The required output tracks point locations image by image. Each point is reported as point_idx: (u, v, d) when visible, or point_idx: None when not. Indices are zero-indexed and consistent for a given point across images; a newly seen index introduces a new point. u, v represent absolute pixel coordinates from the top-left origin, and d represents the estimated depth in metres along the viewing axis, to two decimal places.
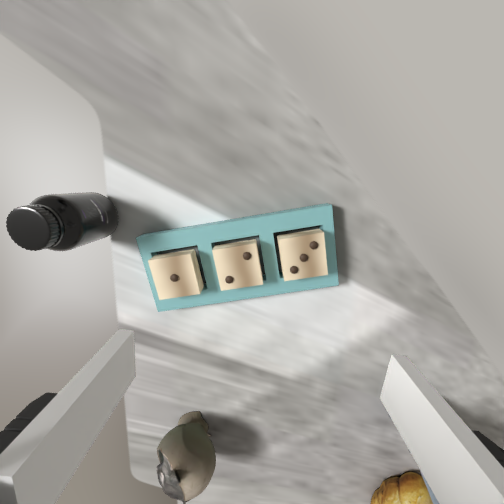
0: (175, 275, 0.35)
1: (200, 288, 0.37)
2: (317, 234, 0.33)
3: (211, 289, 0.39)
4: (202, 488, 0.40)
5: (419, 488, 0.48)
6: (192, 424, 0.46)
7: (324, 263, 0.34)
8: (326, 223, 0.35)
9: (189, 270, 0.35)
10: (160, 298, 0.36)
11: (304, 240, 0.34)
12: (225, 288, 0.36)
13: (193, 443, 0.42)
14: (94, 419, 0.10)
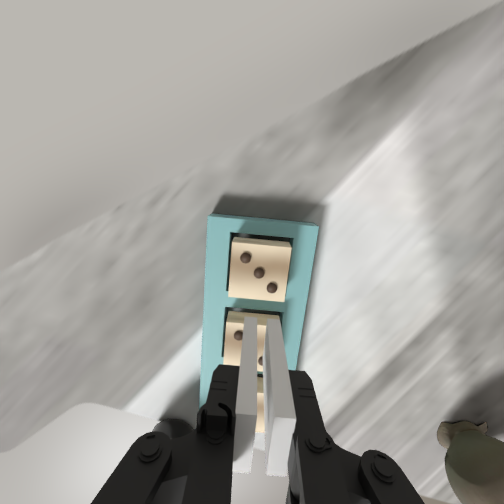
0: None
1: None
2: (233, 250, 0.26)
3: None
4: None
5: None
6: (452, 444, 0.34)
7: (274, 249, 0.26)
8: (229, 227, 0.28)
9: None
10: (264, 431, 0.32)
11: (236, 267, 0.26)
12: None
13: (476, 468, 0.31)
14: None
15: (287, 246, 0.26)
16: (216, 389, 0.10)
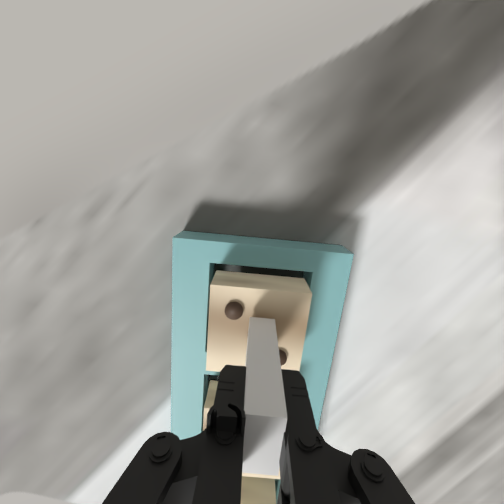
0: None
1: (269, 495, 0.20)
2: (212, 298, 0.15)
3: None
4: None
5: None
6: None
7: (282, 296, 0.15)
8: (208, 255, 0.17)
9: None
10: None
11: (219, 325, 0.16)
12: (279, 471, 0.19)
13: None
14: None
15: (304, 290, 0.15)
16: (223, 390, 0.10)
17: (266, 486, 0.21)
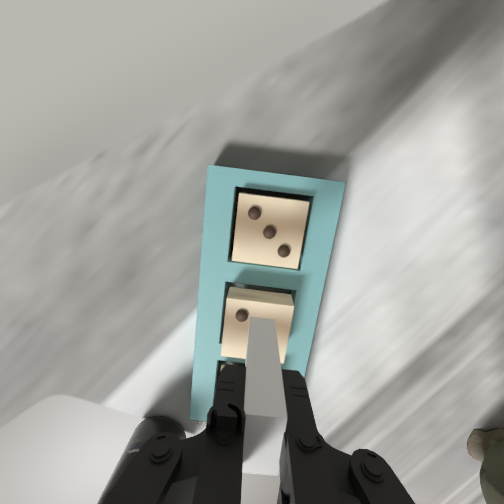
0: None
1: None
2: (240, 204, 0.22)
3: (285, 363, 0.27)
4: None
5: None
6: (489, 456, 0.29)
7: (288, 203, 0.22)
8: (234, 179, 0.22)
9: None
10: None
11: (243, 224, 0.22)
12: (282, 356, 0.24)
13: None
14: None
15: (304, 201, 0.22)
16: (223, 390, 0.10)
17: None
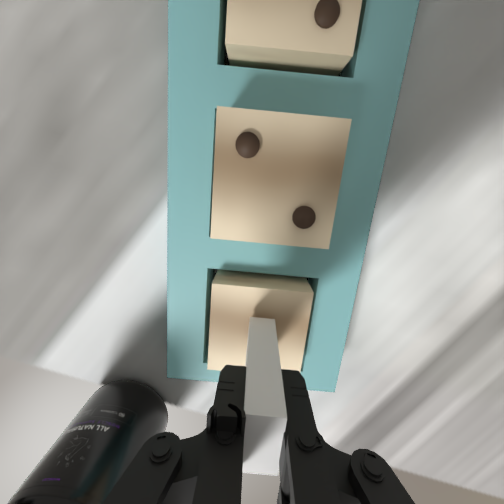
0: None
1: (302, 287, 0.16)
2: None
3: (323, 270, 0.16)
4: None
5: None
6: None
7: None
8: None
9: (249, 297, 0.15)
10: None
11: None
12: (326, 235, 0.13)
13: None
14: None
15: None
16: (224, 390, 0.10)
17: (297, 282, 0.16)
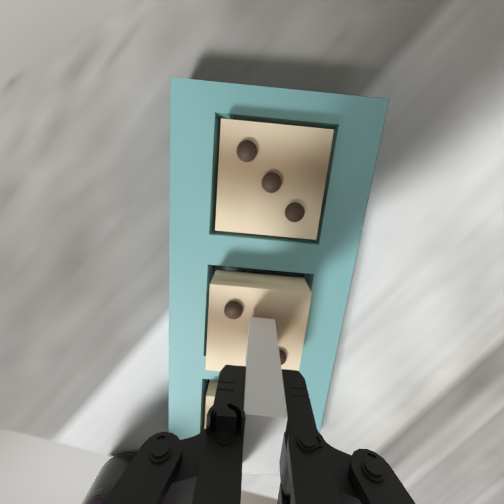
0: None
1: None
2: (223, 137, 0.14)
3: None
4: None
5: None
6: None
7: (301, 132, 0.14)
8: (213, 101, 0.14)
9: None
10: None
11: (230, 171, 0.14)
12: (295, 368, 0.16)
13: None
14: None
15: None
16: (223, 390, 0.10)
17: None
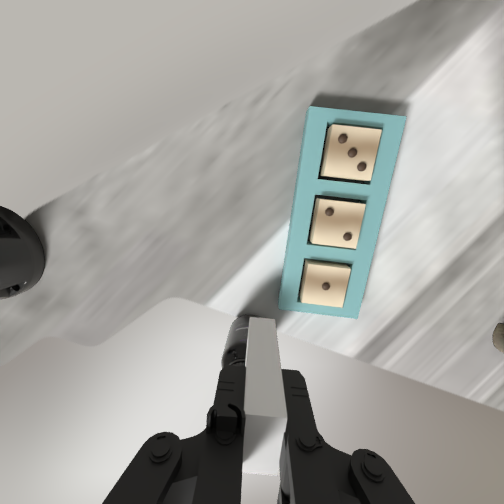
0: (323, 284, 0.36)
1: (345, 267, 0.36)
2: (332, 132, 0.31)
3: (355, 260, 0.36)
4: None
5: None
6: None
7: (367, 130, 0.31)
8: (327, 116, 0.32)
9: (323, 270, 0.36)
10: (341, 306, 0.37)
11: (334, 147, 0.32)
12: (355, 243, 0.34)
13: None
14: None
15: None
16: (223, 390, 0.10)
17: (342, 265, 0.37)
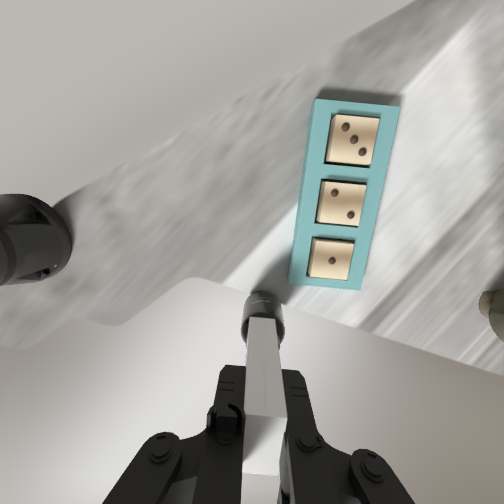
0: (330, 259, 0.41)
1: (349, 243, 0.41)
2: (336, 121, 0.35)
3: (357, 237, 0.41)
4: None
5: None
6: (494, 302, 0.43)
7: (366, 120, 0.35)
8: (331, 107, 0.36)
9: (329, 246, 0.40)
10: (345, 278, 0.42)
11: (337, 135, 0.36)
12: (357, 221, 0.39)
13: None
14: None
15: None
16: (223, 390, 0.10)
17: (346, 242, 0.41)
